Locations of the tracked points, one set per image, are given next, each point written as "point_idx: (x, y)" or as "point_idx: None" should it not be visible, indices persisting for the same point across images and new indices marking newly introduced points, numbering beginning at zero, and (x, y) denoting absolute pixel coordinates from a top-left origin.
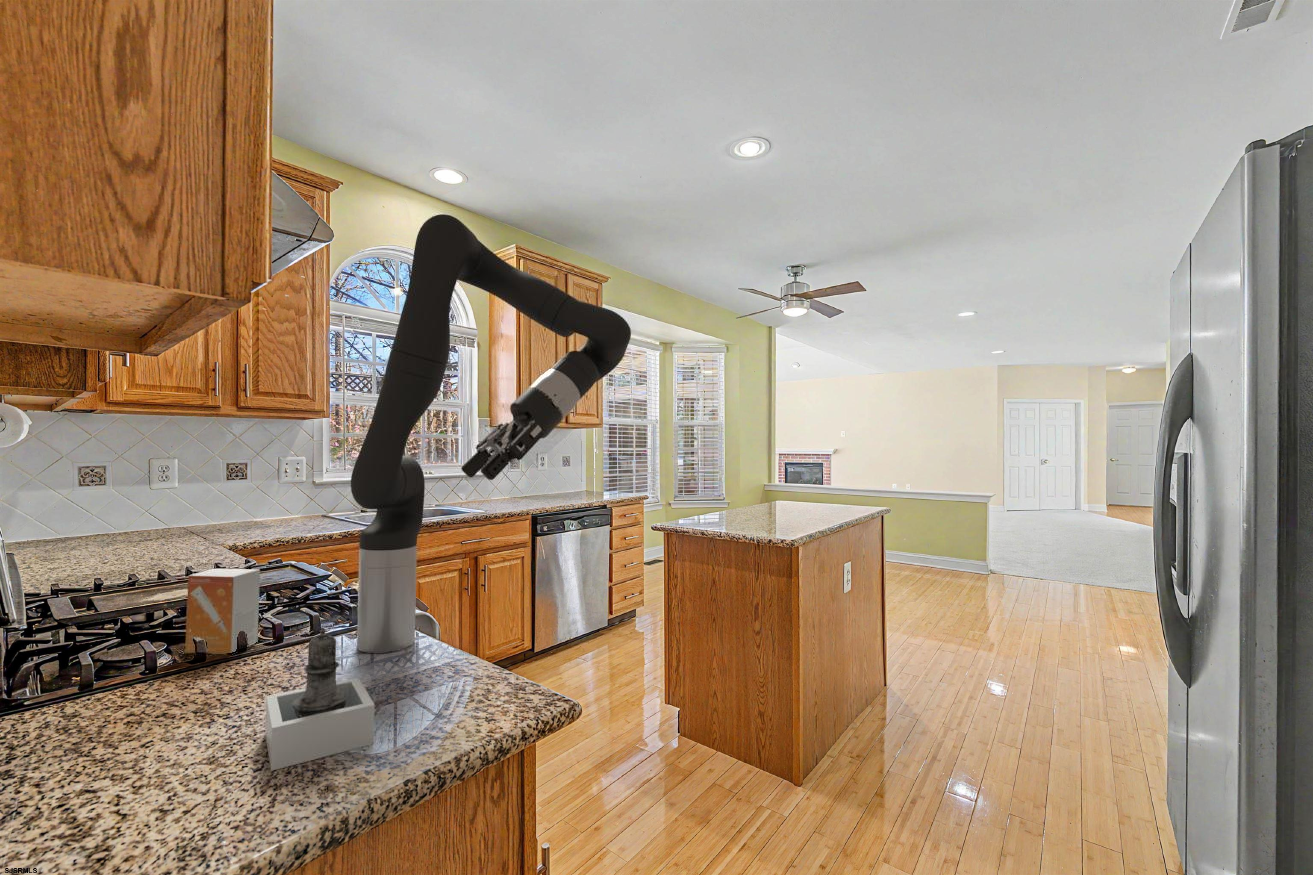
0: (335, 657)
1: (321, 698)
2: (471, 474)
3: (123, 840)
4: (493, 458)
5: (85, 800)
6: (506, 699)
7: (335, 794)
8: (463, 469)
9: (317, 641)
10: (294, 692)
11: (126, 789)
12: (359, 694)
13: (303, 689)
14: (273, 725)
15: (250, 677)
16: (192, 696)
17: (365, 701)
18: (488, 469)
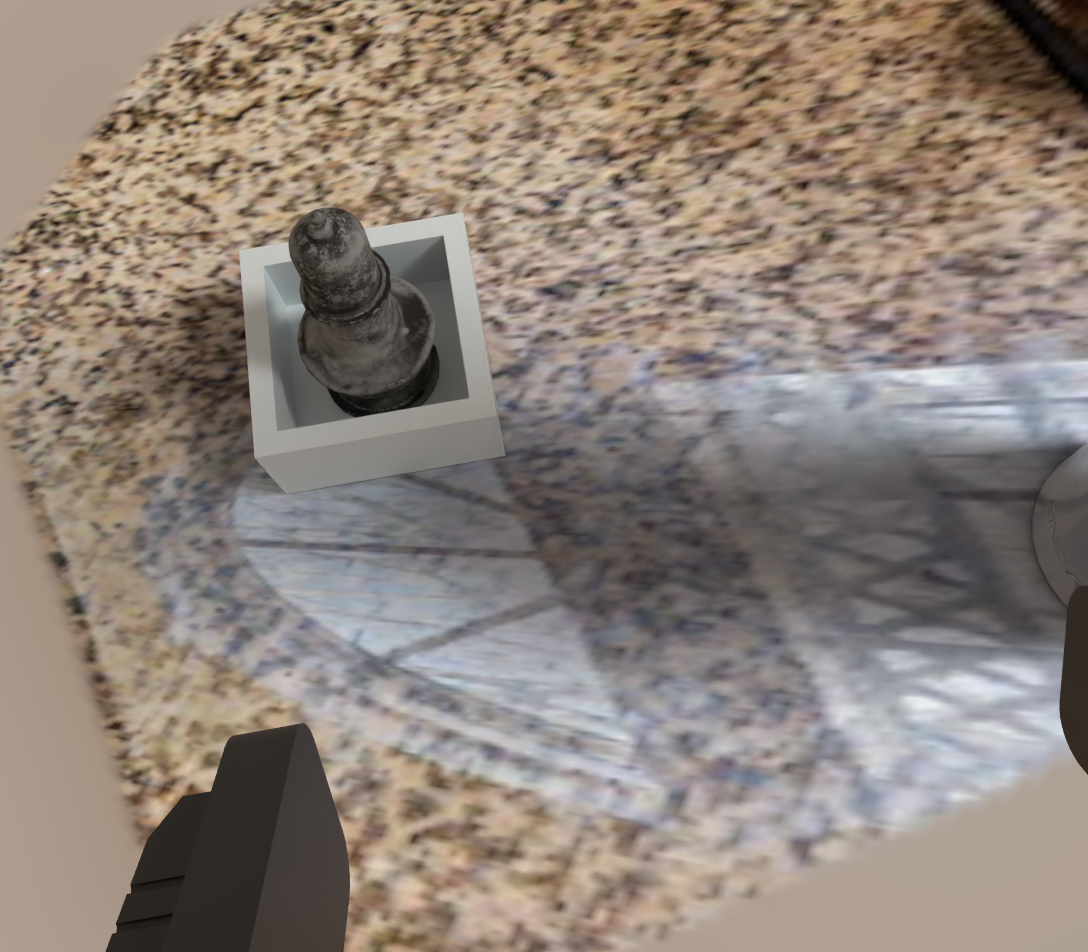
0: (337, 304)
1: (319, 327)
2: (1084, 734)
3: (148, 138)
4: (176, 925)
5: (327, 53)
6: (392, 897)
7: (94, 424)
8: (1080, 599)
9: (296, 224)
10: (453, 269)
11: (336, 95)
12: (352, 421)
13: (468, 287)
14: (252, 251)
15: (911, 181)
16: (804, 87)
17: (291, 436)
18: (173, 815)
